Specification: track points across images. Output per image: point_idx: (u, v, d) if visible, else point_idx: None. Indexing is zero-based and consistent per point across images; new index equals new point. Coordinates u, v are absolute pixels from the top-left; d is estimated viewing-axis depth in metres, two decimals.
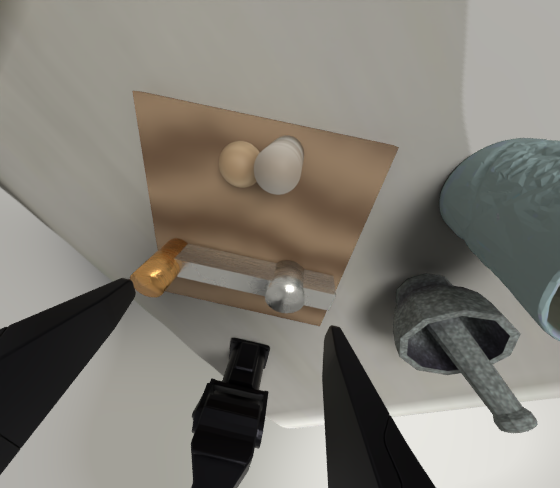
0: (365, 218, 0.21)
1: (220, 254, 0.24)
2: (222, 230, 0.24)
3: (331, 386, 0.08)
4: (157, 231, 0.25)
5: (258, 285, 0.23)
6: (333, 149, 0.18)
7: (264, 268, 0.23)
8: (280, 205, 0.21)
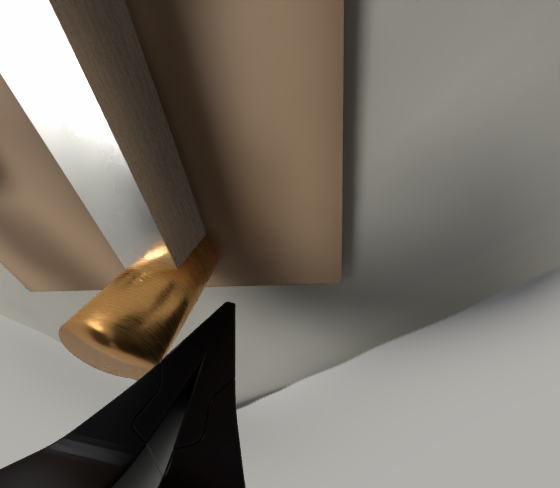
0: None
1: None
2: None
3: None
4: None
5: None
6: None
7: None
8: None
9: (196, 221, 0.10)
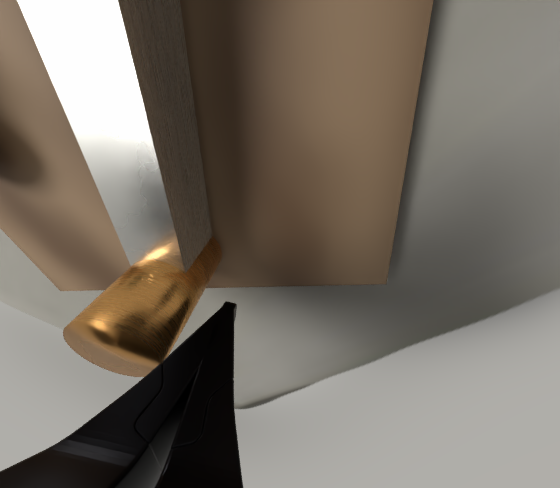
0: None
1: None
2: None
3: None
4: (224, 283, 0.14)
5: None
6: None
7: None
8: None
9: (206, 224, 0.11)
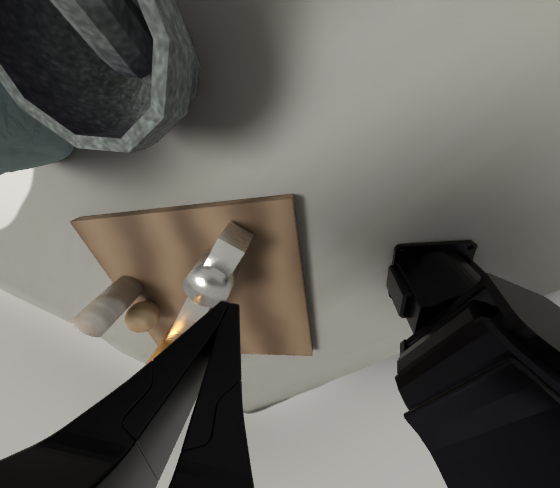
0: (123, 217, 0.21)
1: None
2: None
3: None
4: (243, 352, 0.31)
5: None
6: (105, 260, 0.24)
7: None
8: (164, 282, 0.25)
9: None
